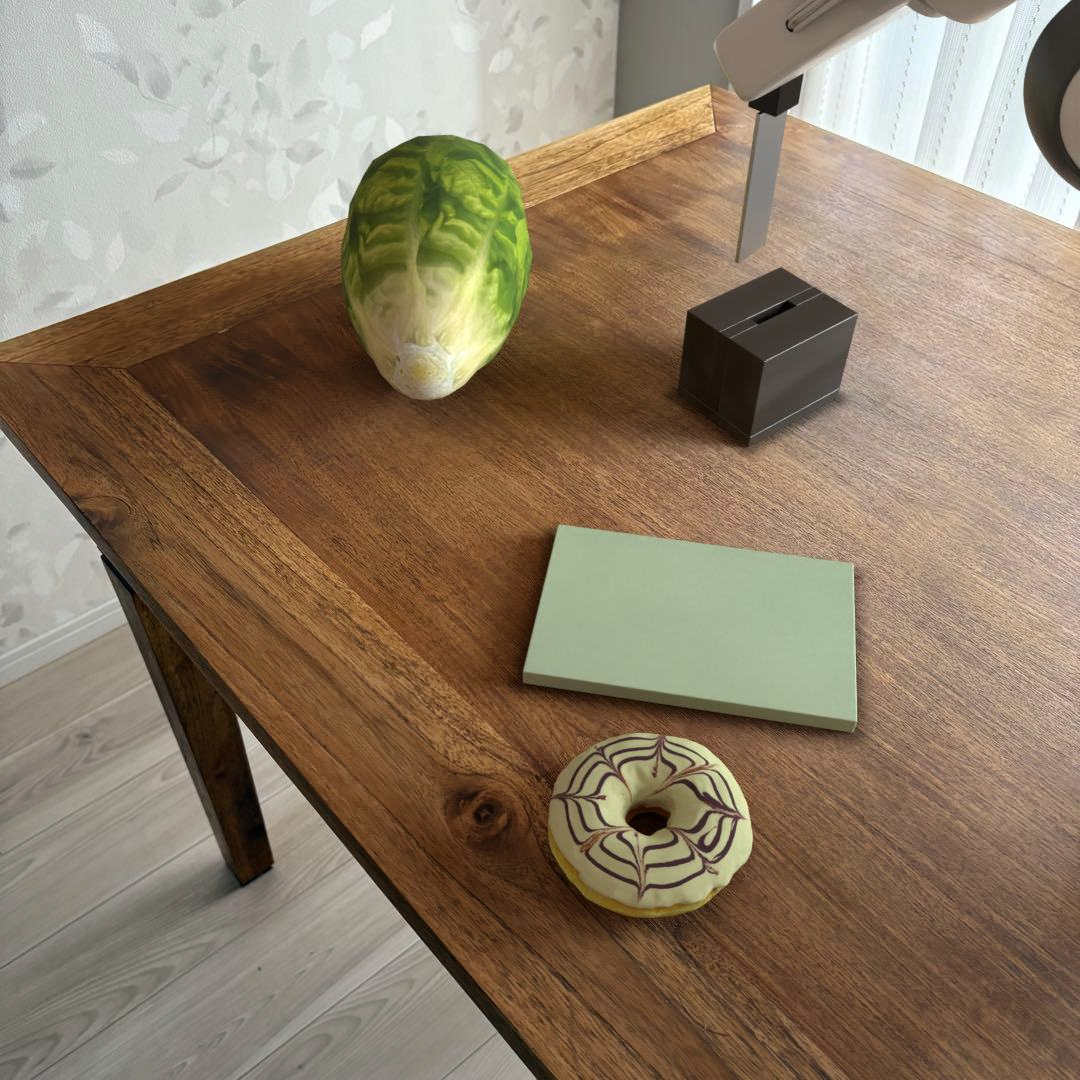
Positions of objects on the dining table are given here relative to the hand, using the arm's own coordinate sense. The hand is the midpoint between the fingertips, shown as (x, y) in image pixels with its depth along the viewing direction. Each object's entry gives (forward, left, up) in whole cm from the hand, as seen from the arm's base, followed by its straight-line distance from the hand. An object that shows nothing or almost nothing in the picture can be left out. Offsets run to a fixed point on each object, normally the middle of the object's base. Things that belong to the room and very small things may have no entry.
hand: (770, 62), depth 64 cm
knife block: (-6, -4, -29) cm, 29 cm away
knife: (0, 0, -12) cm, 12 cm away
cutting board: (+9, +16, -29) cm, 34 cm away
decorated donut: (+18, +29, -29) cm, 45 cm away
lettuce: (+16, -18, -29) cm, 38 cm away
